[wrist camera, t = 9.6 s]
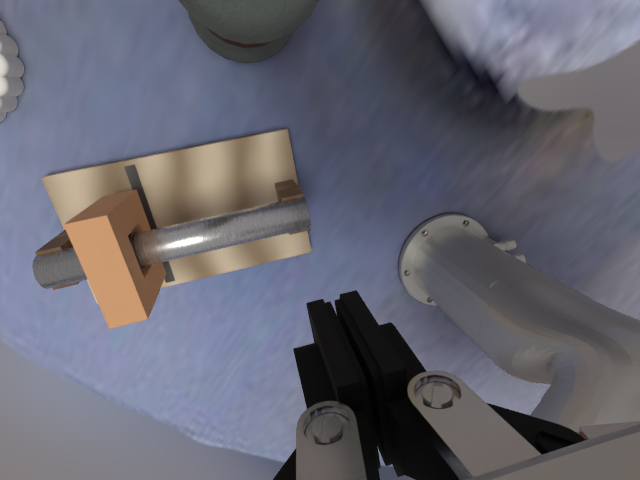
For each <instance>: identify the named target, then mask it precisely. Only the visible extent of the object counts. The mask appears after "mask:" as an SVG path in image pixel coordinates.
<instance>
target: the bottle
mask: <svg viewBox="0 0 640 480" xmlns="http://www.w3.org/2000/svg"><path fill="white" fill-rule="evenodd" d="M179 1H180V2H181V4H182V5H183V6H184V7H185V8H186V9H187V10H188V13H189V18H190V20H191V22H192V24H193V26H194V28H195V30H196V32H197V34H198V35H199V37H200V38H201V39H202V40H203V41H204V42H205V43H206V44H207V45H208V47H209V48H210V49H211V50H213V51H215V52H216V53H218V54H220V55H221V56H223V57H224V58H226V59H229V60H233V61H237V62H241V63H250V62H260V61H262V60H264V59H267V58H269V57H271V56H274V55H275V54H276V53H277V52H278V51H279V50H280V49H281V48H282V47H283V46H284V45H285V44H286V43H287V41H288V39H289V37H290V35H291V33H292V32H293V31H294V30H295V29H296V28H297V27H298V26H300V25H301V24H302V23H303V22H304V21H305V20H306V19H307V18H308V17H309V16H310V15H311V13H312V11H313V9H314V7H315V5H316V3H317V2H318V0H179Z"/></svg>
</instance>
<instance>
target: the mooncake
mask: <svg viewBox="0 0 640 480" xmlns="http://www.w3.org/2000/svg"><path fill="white" fill-rule="evenodd" d="M6 34H7V31H6V27H5V25H4V24H3V22H2V21H1V20H0V123H1V122H2V121H4V120H5V118H6V112H11V111H13V110H15V109H16V107H17V105H18V100H17V96H19V95H21V94H22V93H23V91H24V84H23V82H22V80H21V79H20V77H21V76H22V75H23V74H24V65H23V63H22V61H21V60H20V59H19V58H18V57H17V55H18V46H17V44H16V42H15V41H14V40H13V39H12V38H11V37H9V36H8V35H6Z"/></svg>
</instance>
